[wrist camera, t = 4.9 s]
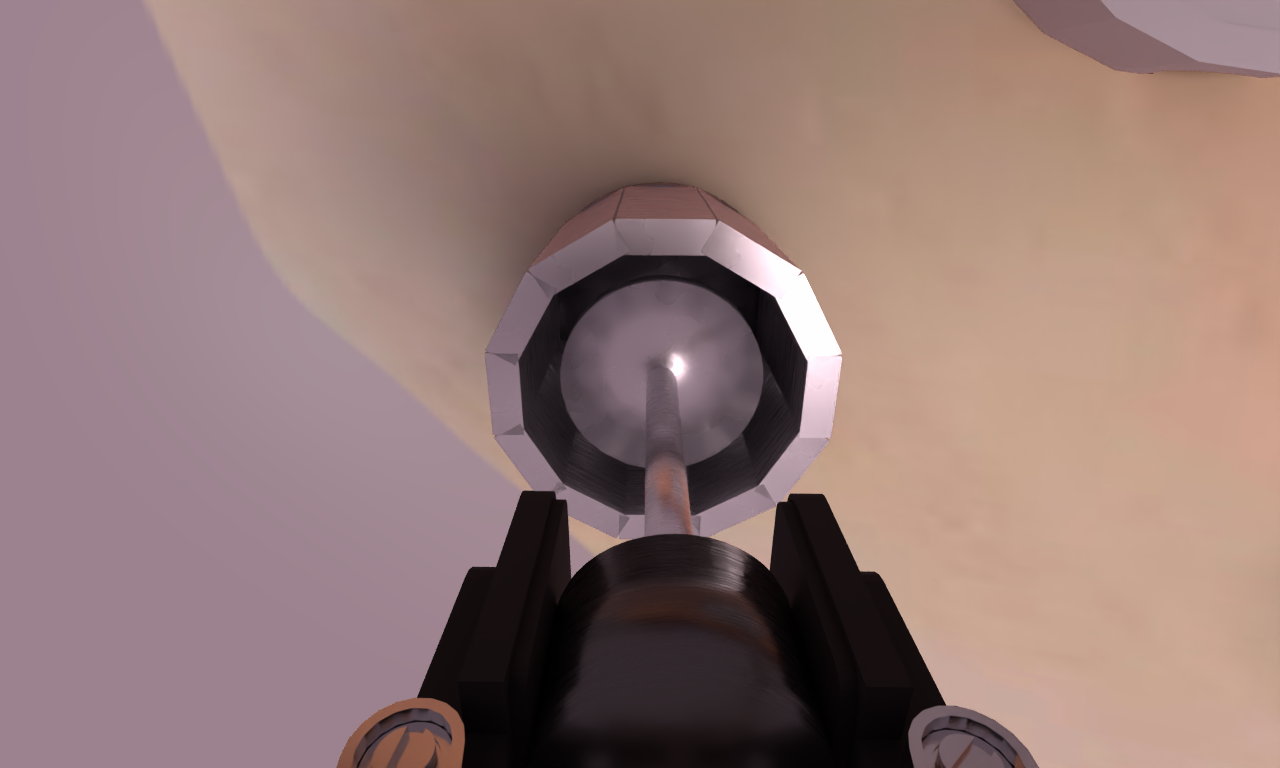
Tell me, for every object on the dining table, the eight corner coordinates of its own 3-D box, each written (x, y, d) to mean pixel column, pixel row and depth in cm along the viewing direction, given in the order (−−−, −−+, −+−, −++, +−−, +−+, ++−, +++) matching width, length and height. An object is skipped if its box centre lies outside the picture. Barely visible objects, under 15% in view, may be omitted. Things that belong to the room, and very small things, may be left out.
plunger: (559, 273, 18) (373, 592, 6) (766, 275, 18) (1010, 601, 6) (567, 455, 20) (448, 949, 8) (751, 457, 20) (902, 959, 8)
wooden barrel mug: (531, 181, 24) (468, 215, 16) (788, 183, 24) (863, 218, 15) (549, 471, 29) (509, 613, 21) (761, 473, 29) (807, 617, 20)
